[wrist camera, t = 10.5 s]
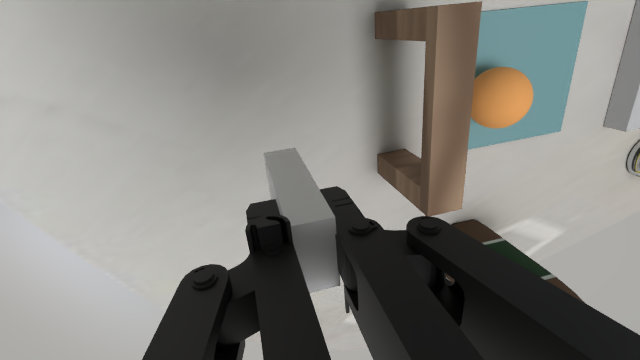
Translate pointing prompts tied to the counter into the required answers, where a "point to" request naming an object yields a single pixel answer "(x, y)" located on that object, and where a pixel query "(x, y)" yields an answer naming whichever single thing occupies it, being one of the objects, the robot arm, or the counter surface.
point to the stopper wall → (627, 82)
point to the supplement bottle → (634, 160)
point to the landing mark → (531, 63)
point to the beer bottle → (508, 252)
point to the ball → (501, 97)
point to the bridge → (436, 103)
